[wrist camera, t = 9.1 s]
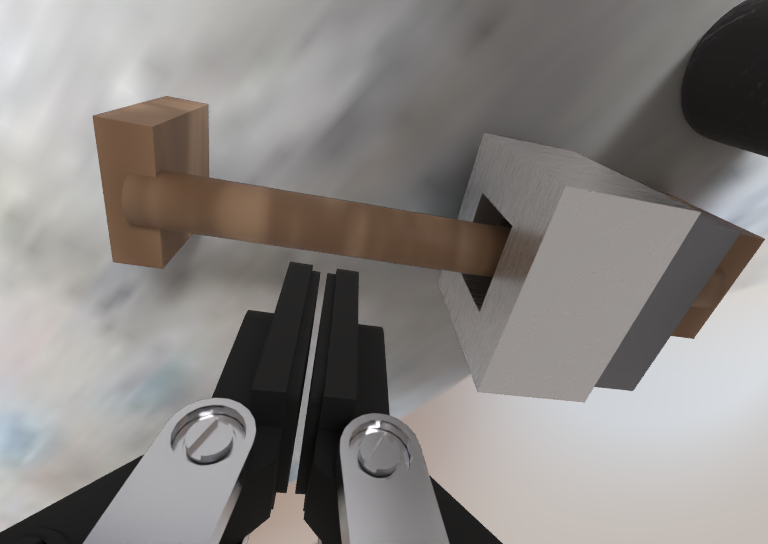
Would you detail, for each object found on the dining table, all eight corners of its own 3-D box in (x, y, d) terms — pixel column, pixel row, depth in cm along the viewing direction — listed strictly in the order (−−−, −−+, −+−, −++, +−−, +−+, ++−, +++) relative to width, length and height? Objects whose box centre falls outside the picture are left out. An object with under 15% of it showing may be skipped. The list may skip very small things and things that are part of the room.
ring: (518, 290, 25) (583, 385, 18) (572, 162, 21) (682, 220, 14) (555, 295, 25) (633, 391, 18) (615, 171, 21) (741, 231, 14)
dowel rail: (172, 208, 23) (102, 271, 16) (166, 96, 20) (79, 119, 14) (622, 278, 27) (704, 348, 21) (669, 194, 24) (781, 246, 18)
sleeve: (437, 282, 25) (477, 391, 17) (483, 132, 20) (565, 186, 13) (513, 292, 25) (584, 402, 18) (572, 150, 21) (701, 212, 13)
